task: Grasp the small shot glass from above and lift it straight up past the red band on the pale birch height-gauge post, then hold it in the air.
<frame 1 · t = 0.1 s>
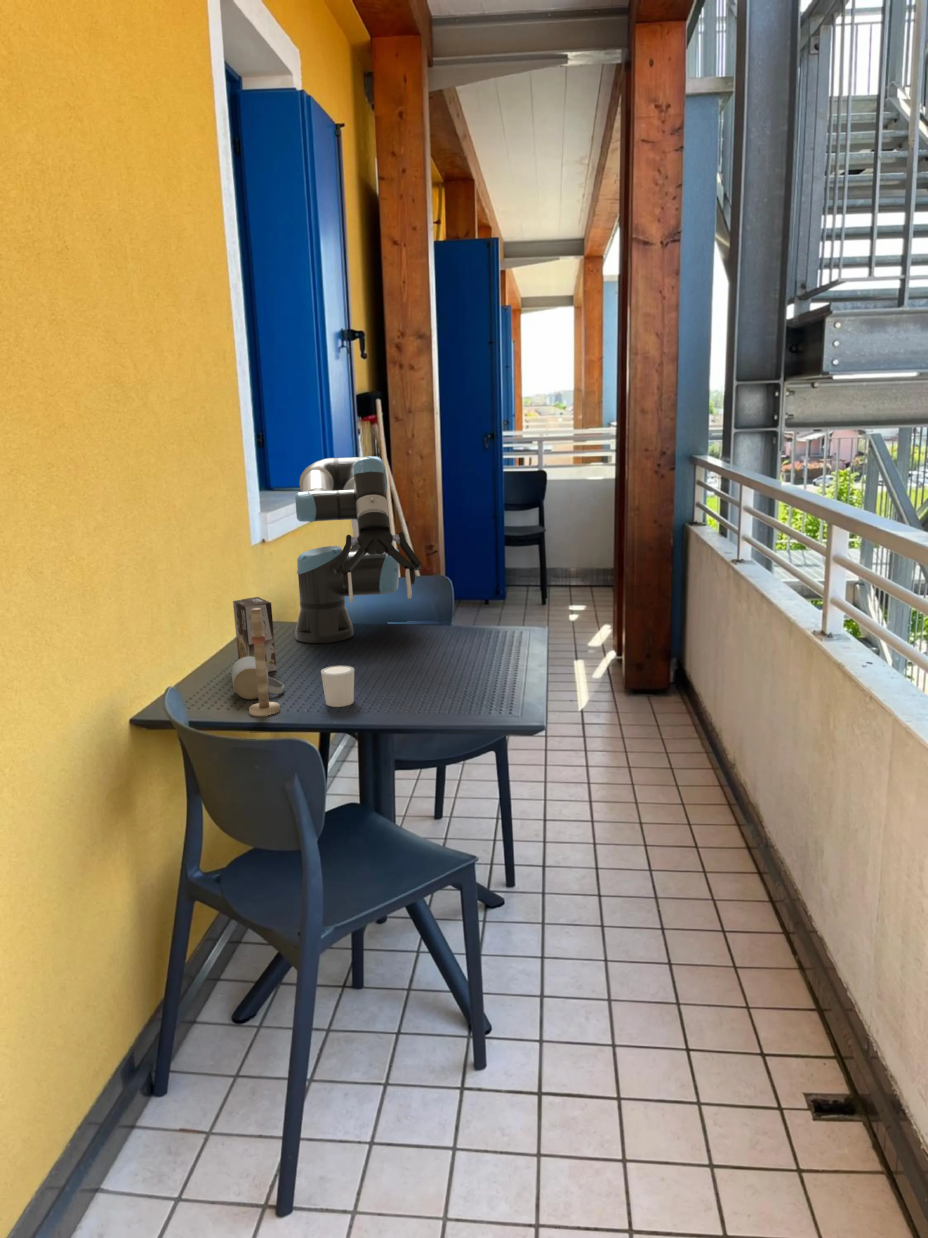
hand: (380, 598, 211), 15 cm above the table, tool tilted 35°, fingers open, 13 cm apart
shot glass: (339, 703, 187), on the table
coffee box: (257, 669, 213), on the table
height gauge: (264, 711, 183), on the table
ceramic mug: (258, 695, 194), on the table
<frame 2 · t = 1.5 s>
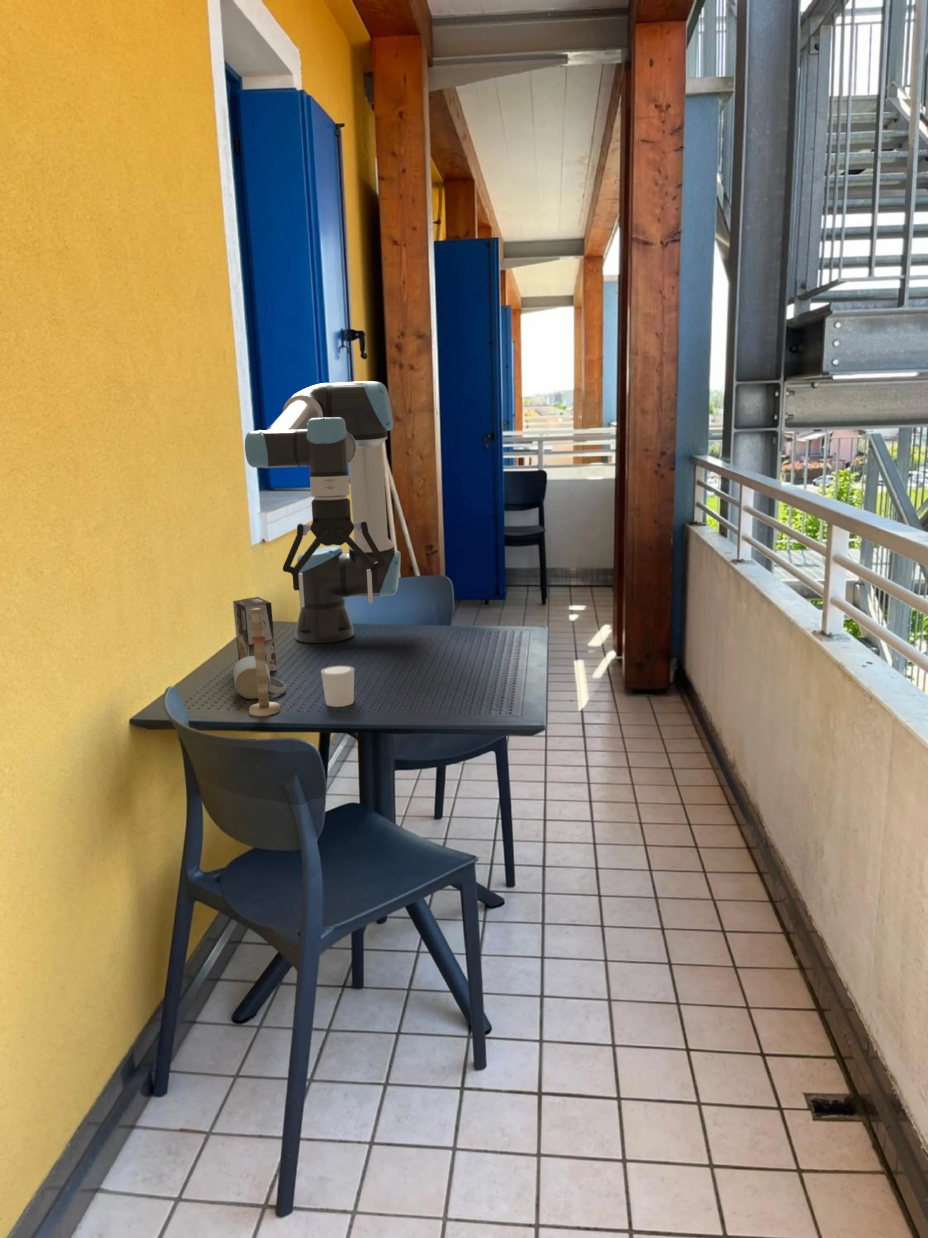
hand: (336, 604, 183), 20 cm above the table, tool pointing down, fingers open, 13 cm apart
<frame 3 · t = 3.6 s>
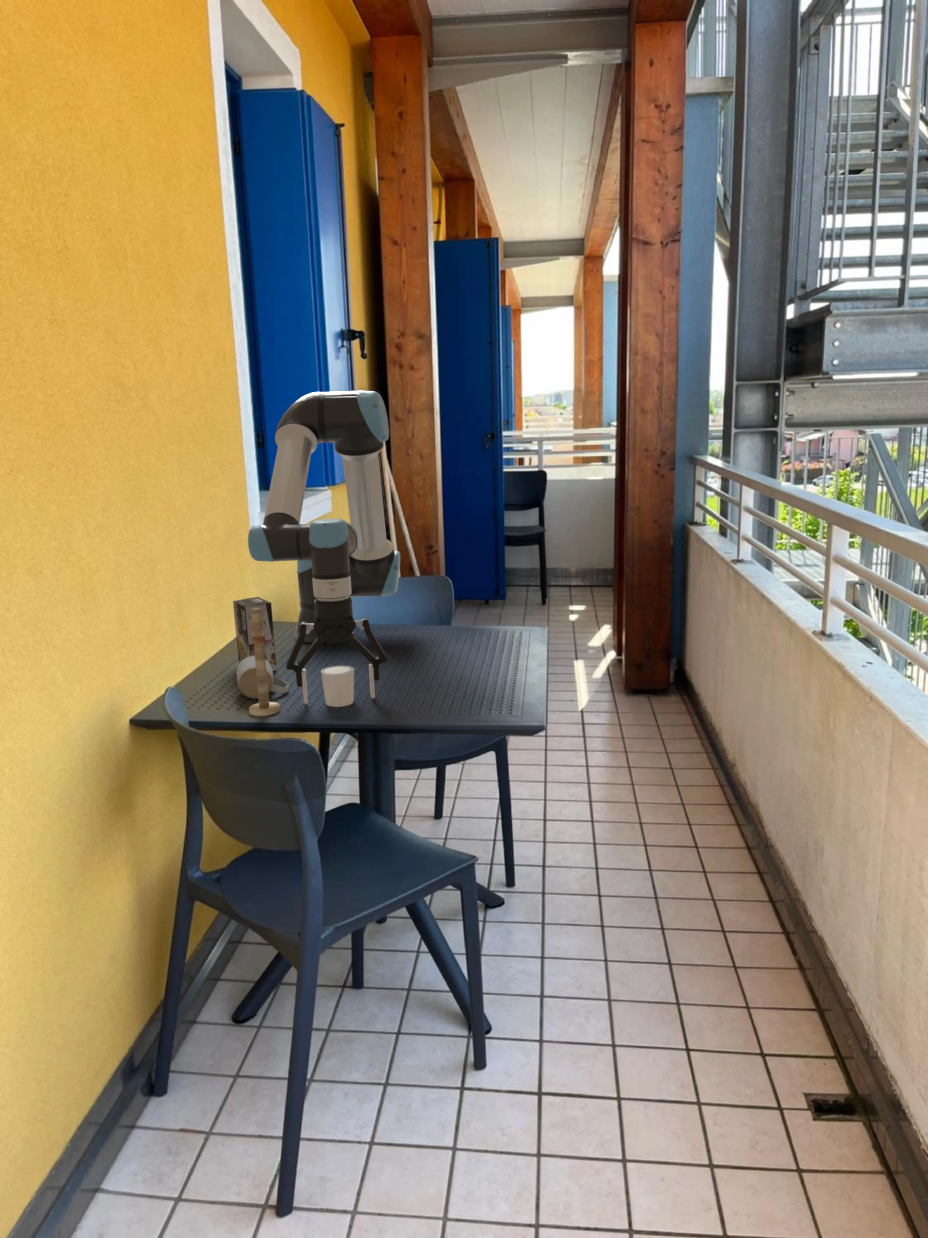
hand: (339, 698, 187), 1 cm above the table, tool pointing down, fingers open, 13 cm apart
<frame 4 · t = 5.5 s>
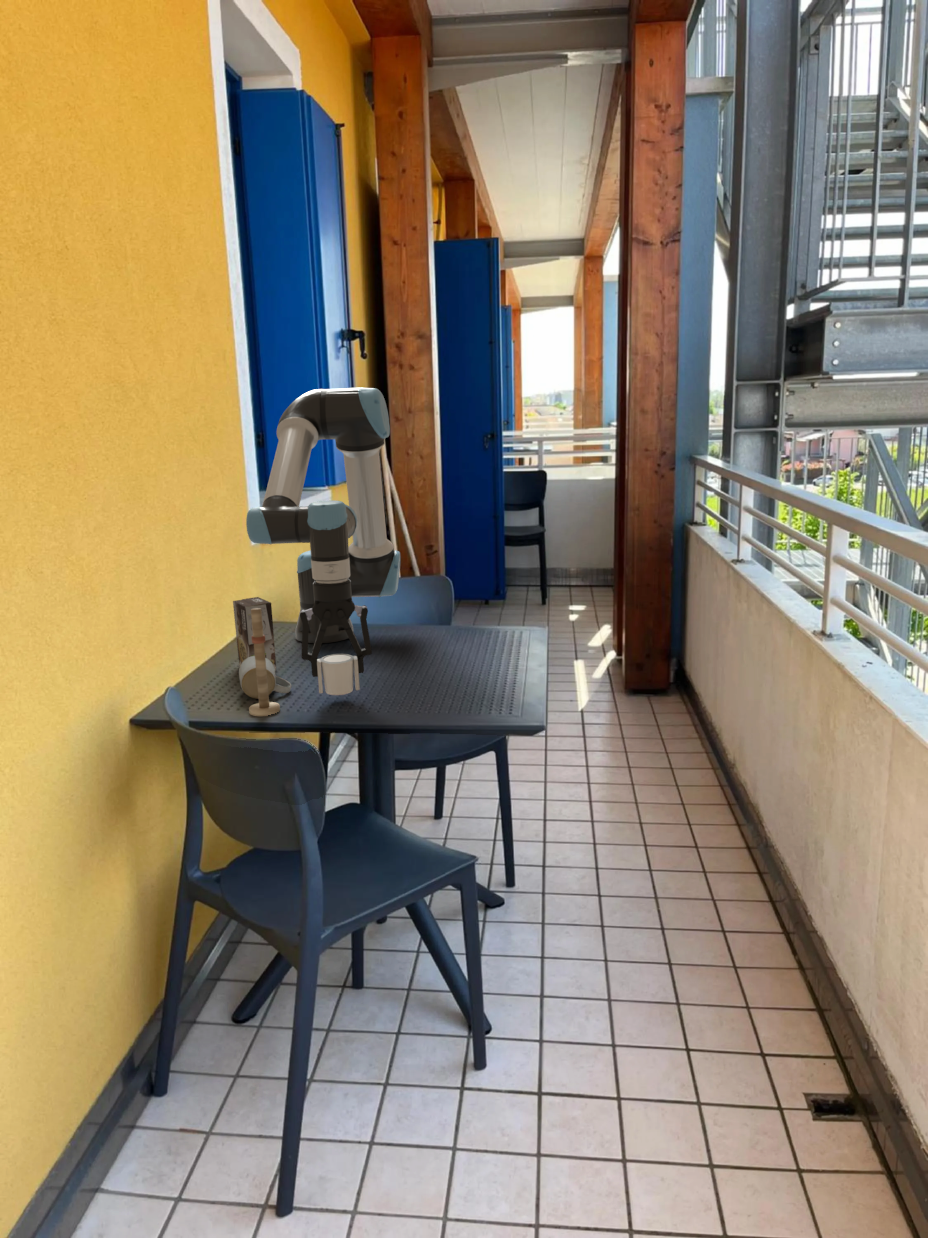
hand: (339, 689, 187), 3 cm above the table, tool pointing down, fingers closed on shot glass, 7 cm apart
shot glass: (339, 691, 187), point 2 cm above the table, touching gripper
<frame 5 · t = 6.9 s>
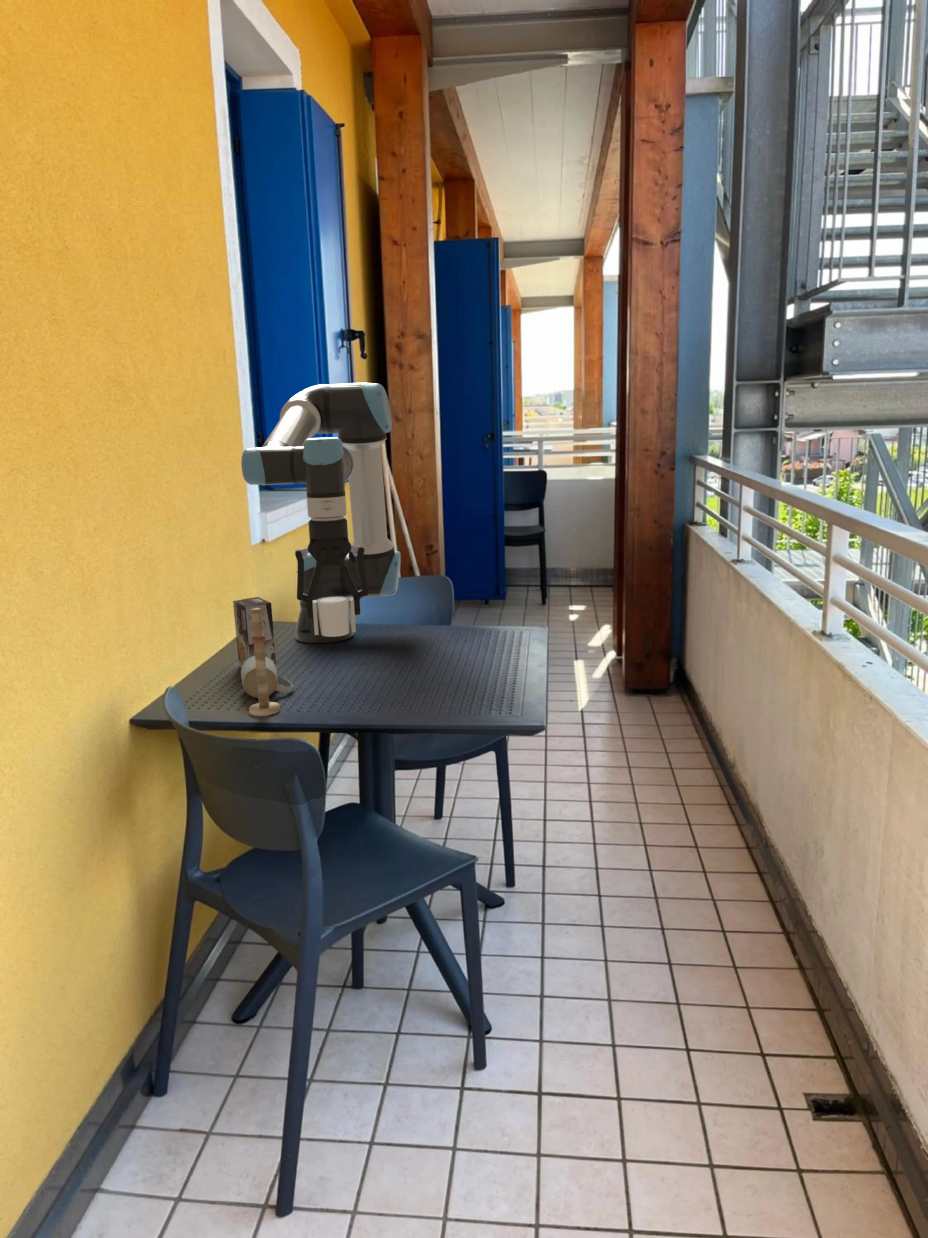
hand: (335, 631, 184), 15 cm above the table, tool pointing down, fingers closed on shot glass, 7 cm apart
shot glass: (335, 634, 184), point 14 cm above the table, touching gripper
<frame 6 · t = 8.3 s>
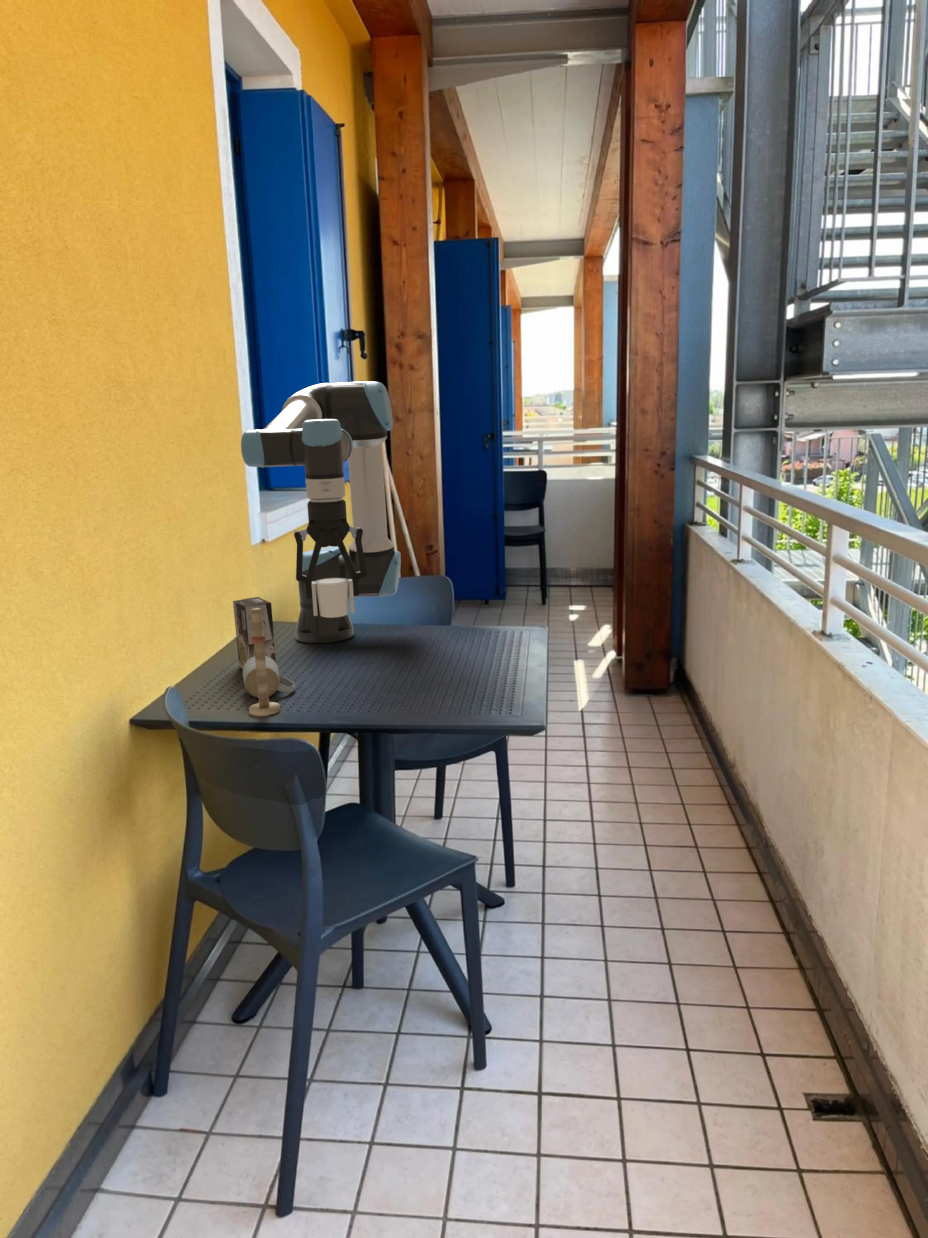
hand: (334, 612, 185), 18 cm above the table, tool pointing down, fingers closed on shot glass, 7 cm apart
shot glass: (334, 615, 185), point 18 cm above the table, touching gripper
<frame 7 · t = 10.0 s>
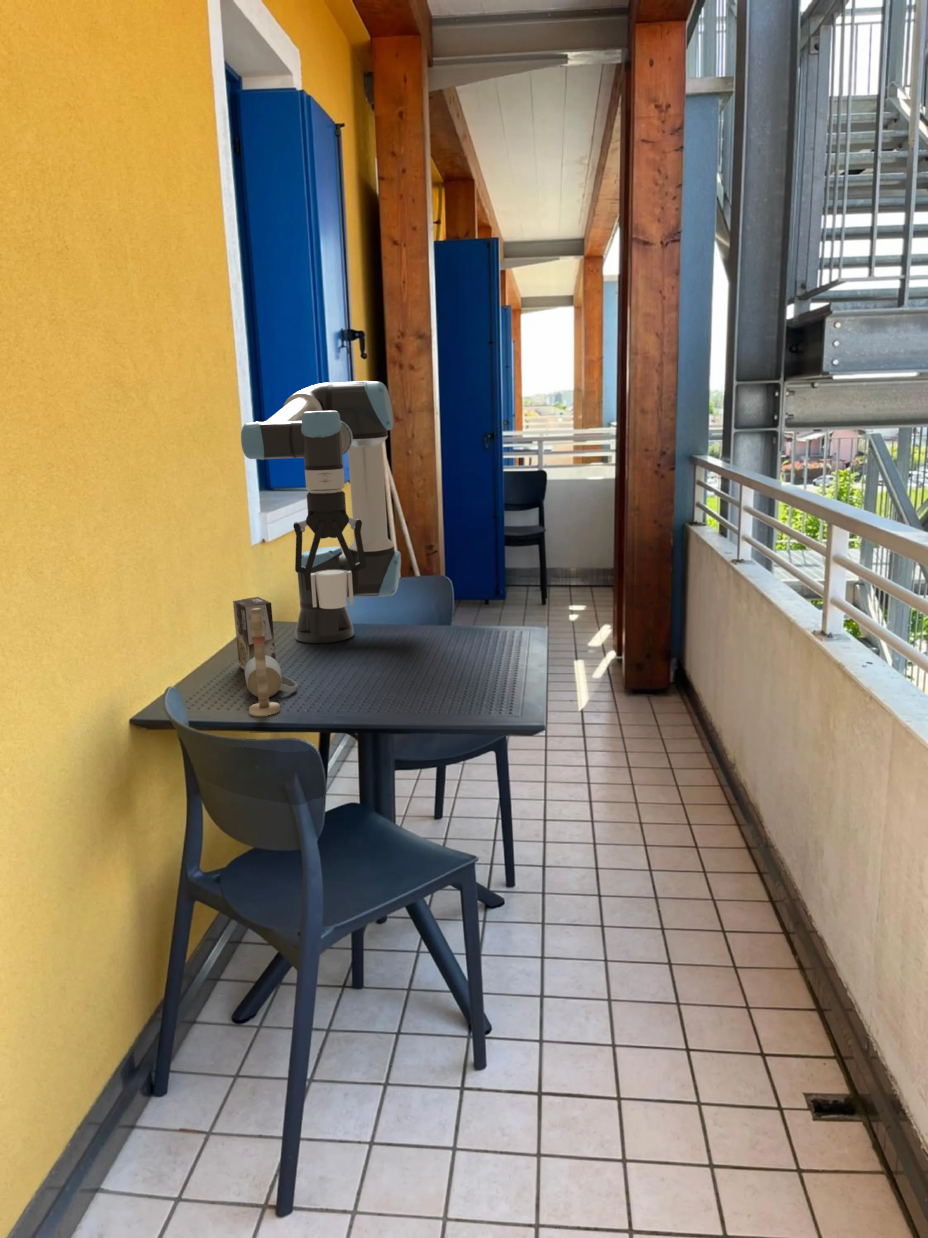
hand: (333, 604, 185), 20 cm above the table, tool pointing down, fingers closed on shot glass, 7 cm apart
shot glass: (333, 606, 186), point 19 cm above the table, touching gripper
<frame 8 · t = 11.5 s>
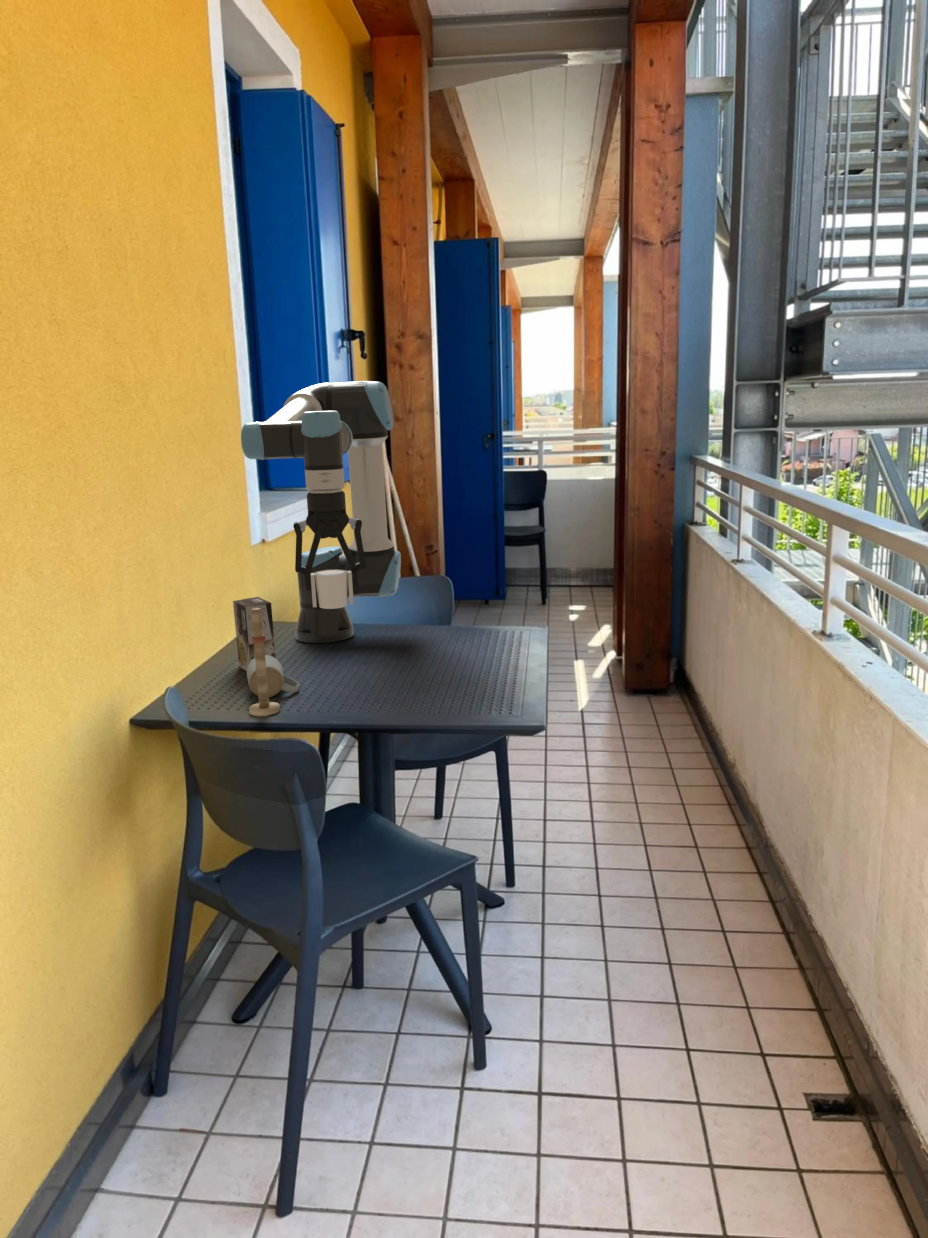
hand: (333, 604, 185), 20 cm above the table, tool pointing down, fingers closed on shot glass, 7 cm apart
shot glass: (333, 606, 186), point 19 cm above the table, touching gripper
at the end: the gripper is holding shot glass; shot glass point 19.4 cm above the table; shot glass tilted 0° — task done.
